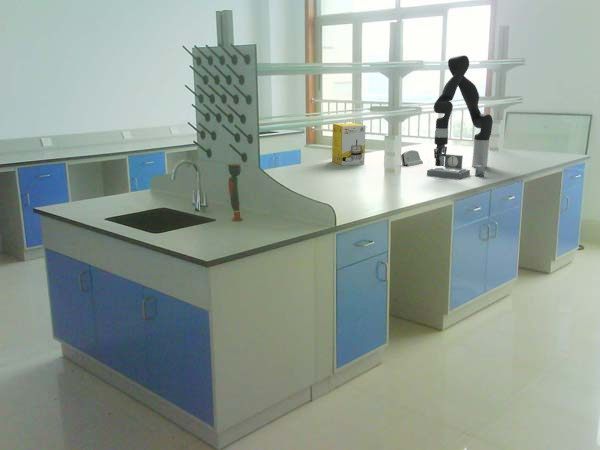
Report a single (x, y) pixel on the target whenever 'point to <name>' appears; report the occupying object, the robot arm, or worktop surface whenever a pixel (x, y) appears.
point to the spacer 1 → (441, 160)
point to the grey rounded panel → (411, 158)
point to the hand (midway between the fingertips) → (439, 164)
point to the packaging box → (348, 144)
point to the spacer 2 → (479, 171)
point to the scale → (450, 168)
